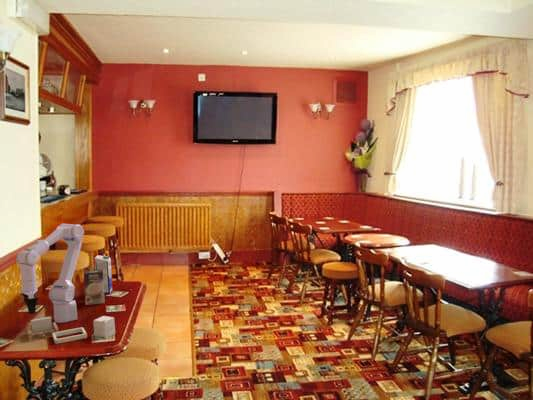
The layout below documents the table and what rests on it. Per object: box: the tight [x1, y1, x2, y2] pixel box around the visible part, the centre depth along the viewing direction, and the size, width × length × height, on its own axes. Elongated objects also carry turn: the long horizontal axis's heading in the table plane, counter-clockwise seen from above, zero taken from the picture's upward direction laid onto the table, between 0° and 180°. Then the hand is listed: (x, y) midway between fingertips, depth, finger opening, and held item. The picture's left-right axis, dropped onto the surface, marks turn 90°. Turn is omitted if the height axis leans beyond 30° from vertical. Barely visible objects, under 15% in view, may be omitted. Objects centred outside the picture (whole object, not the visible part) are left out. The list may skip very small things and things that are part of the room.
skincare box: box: [92, 315, 116, 338], centre depth 208 cm, size 6×6×7 cm
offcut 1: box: [32, 332, 44, 341], centre depth 205 cm, size 4×2×2 cm, turn 120°
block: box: [30, 316, 53, 333], centre depth 211 cm, size 8×2×6 cm, turn 120°
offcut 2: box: [44, 330, 55, 339], centre depth 208 cm, size 4×2×2 cm, turn 120°
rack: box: [26, 321, 59, 342], centre depth 210 cm, size 11×10×4 cm
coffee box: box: [83, 269, 105, 306], centre depth 253 cm, size 9×6×16 cm
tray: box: [52, 326, 88, 345], centre depth 206 cm, size 12×9×2 cm
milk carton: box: [94, 254, 113, 295], centre depth 270 cm, size 7×7×20 cm
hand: (31, 311), depth 211 cm, fingers open, 7 cm apart
